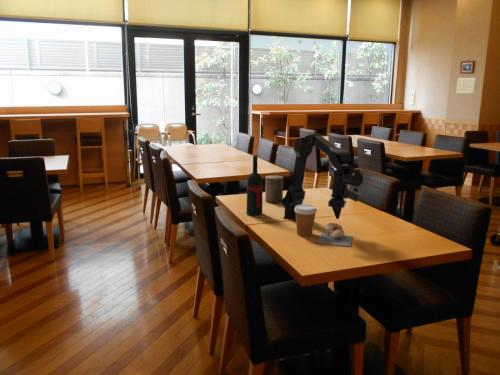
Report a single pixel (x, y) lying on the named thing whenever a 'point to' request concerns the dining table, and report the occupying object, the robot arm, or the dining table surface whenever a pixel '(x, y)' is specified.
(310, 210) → the disposable coffee cup
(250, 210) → the wine bottle
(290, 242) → the dining table surface
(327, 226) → the chocolate bunny
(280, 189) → the pillar candle
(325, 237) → the mat
